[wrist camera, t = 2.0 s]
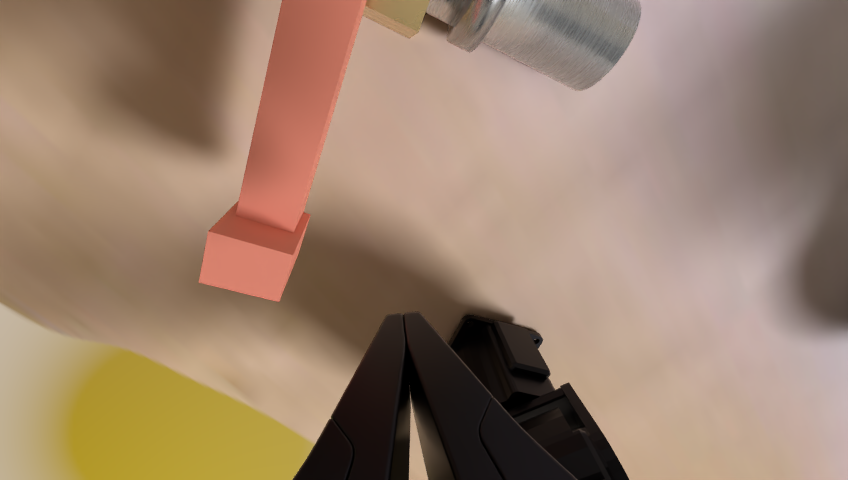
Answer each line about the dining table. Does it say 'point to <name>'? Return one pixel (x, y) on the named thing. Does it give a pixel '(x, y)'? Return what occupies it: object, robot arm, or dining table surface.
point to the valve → (528, 31)
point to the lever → (284, 149)
